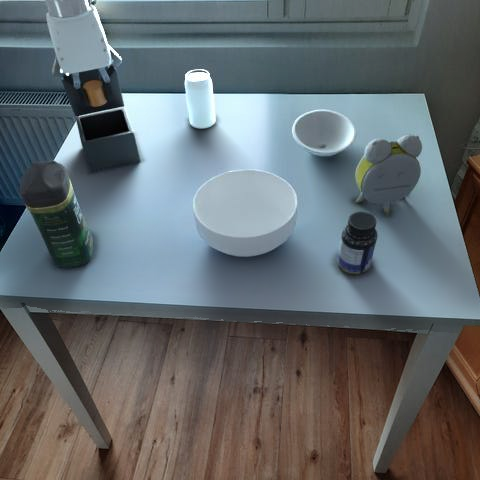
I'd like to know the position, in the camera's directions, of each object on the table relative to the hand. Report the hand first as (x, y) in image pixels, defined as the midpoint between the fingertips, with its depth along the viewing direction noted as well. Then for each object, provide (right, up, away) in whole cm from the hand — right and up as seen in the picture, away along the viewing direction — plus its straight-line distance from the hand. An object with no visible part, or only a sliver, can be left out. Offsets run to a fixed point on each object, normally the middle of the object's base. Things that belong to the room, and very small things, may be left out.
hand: (97, 100), depth 100 cm
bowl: (+32, -30, -6) cm, 44 cm away
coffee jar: (-2, -33, -6) cm, 34 cm away
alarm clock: (+60, -23, -2) cm, 64 cm away
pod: (0, 0, 0) cm, 0 cm away
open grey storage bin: (0, -7, +13) cm, 15 cm away
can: (+21, +3, +20) cm, 29 cm away
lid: (-2, +4, +4) cm, 6 cm away
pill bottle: (+52, -37, -12) cm, 64 cm away
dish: (+50, -7, +11) cm, 51 cm away
